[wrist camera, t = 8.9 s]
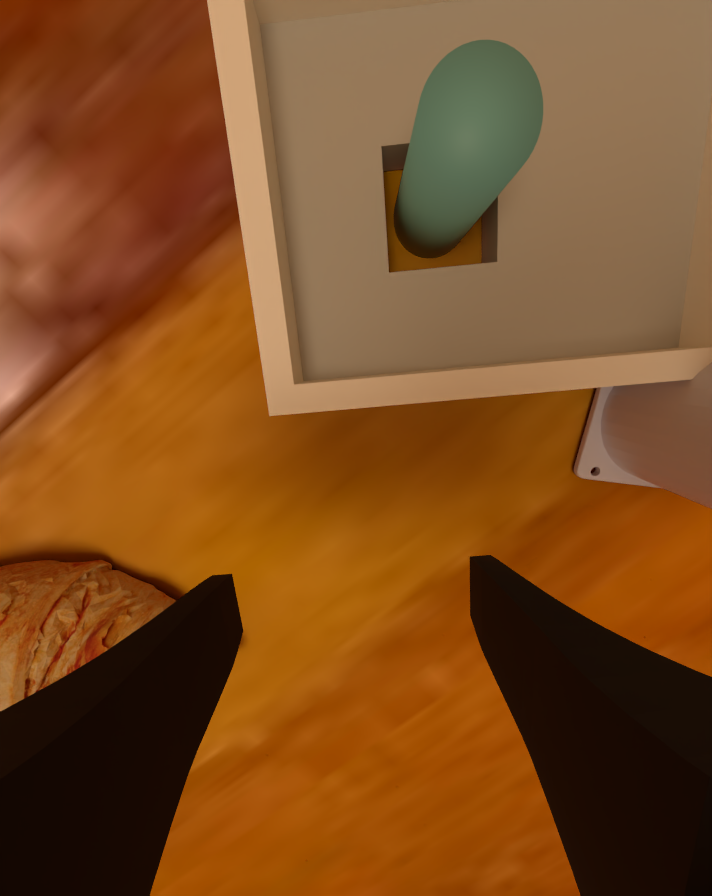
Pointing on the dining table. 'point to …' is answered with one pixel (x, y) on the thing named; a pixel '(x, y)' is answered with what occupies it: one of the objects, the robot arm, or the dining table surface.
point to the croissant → (65, 619)
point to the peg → (466, 143)
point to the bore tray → (503, 223)
